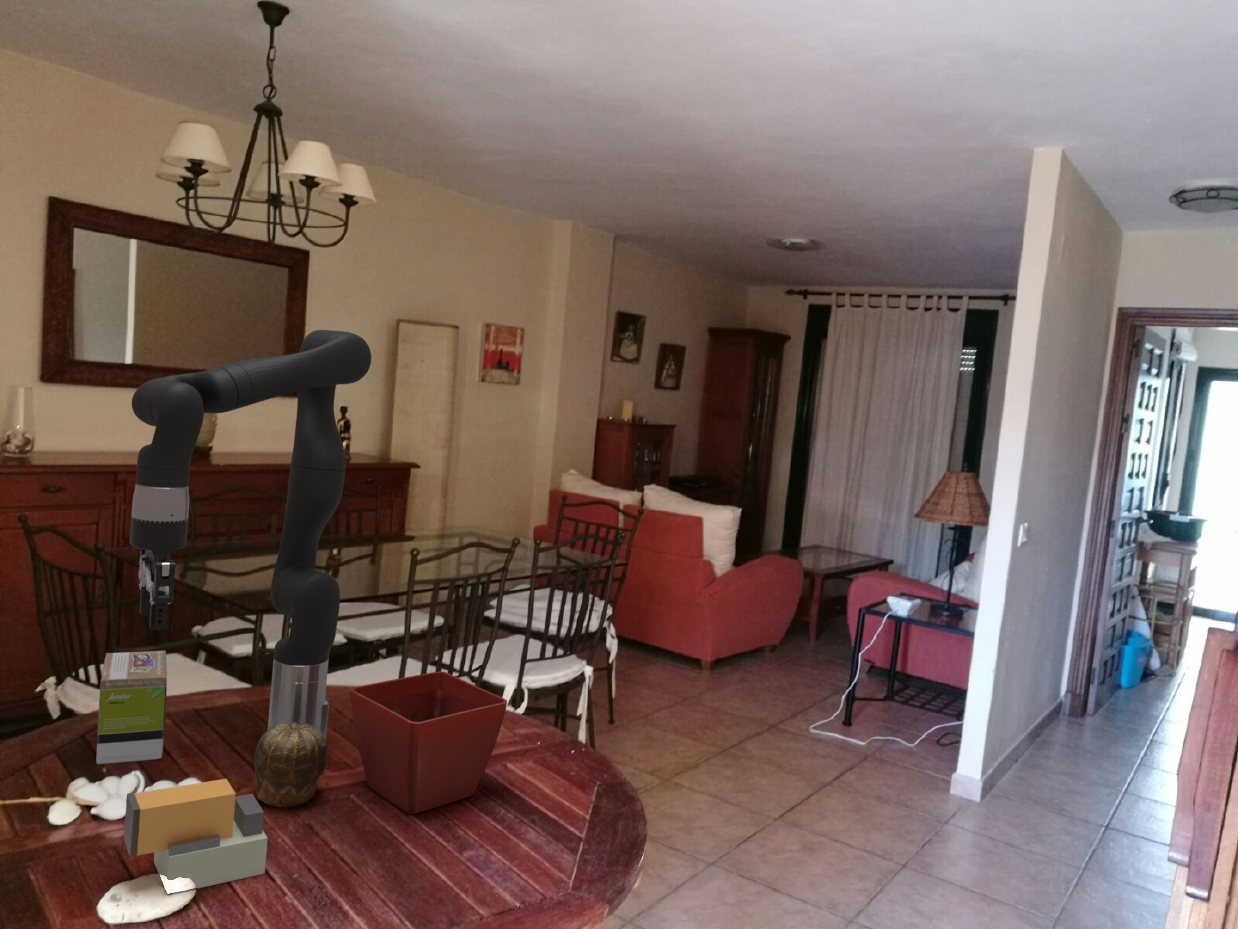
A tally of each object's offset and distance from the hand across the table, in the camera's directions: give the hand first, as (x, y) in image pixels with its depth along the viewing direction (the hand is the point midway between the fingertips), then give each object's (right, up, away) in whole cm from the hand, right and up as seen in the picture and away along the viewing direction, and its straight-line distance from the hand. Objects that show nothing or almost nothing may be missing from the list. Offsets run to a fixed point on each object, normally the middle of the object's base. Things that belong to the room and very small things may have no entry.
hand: (152, 621), depth 134 cm
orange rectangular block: (+12, -26, -16) cm, 33 cm away
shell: (+17, -30, +8) cm, 35 cm away
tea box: (-15, -26, +21) cm, 37 cm away
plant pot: (+37, -31, +16) cm, 51 cm away
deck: (+15, -31, -13) cm, 37 cm away
